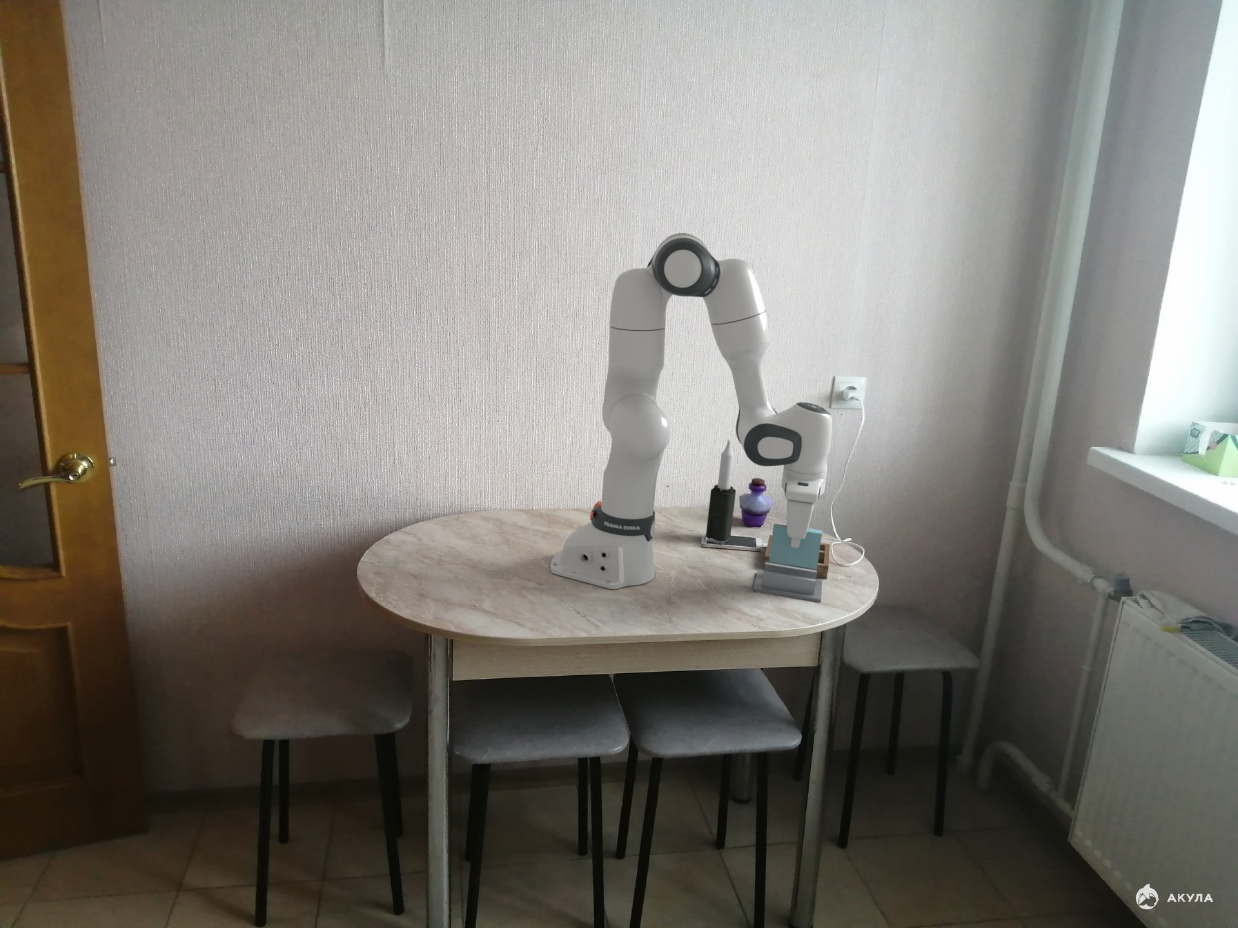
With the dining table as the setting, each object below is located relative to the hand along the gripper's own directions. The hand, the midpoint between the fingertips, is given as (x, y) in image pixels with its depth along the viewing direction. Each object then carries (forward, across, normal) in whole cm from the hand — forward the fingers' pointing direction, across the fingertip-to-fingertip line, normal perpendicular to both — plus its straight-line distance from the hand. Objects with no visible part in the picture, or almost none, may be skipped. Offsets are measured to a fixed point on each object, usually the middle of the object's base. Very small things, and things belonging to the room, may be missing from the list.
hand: (795, 543), depth 187 cm
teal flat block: (+5, 0, 0) cm, 5 cm away
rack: (+10, -15, +1) cm, 18 cm away
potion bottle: (+10, -36, -11) cm, 39 cm away
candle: (+10, -21, -18) cm, 30 cm away
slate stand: (+10, 0, 0) cm, 10 cm away
